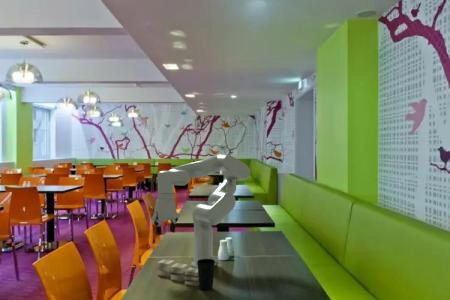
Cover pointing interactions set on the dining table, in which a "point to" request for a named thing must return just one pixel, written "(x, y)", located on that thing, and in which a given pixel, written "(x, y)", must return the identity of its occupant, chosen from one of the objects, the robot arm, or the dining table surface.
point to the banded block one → (178, 271)
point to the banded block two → (191, 277)
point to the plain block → (164, 267)
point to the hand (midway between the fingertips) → (165, 232)
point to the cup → (206, 274)
